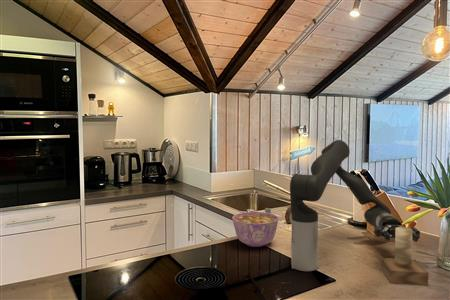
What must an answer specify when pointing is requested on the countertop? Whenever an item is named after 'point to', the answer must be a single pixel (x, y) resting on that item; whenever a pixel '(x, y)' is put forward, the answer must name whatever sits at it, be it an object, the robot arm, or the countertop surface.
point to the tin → (288, 215)
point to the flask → (267, 210)
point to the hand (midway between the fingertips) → (402, 238)
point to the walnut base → (404, 272)
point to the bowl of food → (255, 227)
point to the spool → (403, 247)
